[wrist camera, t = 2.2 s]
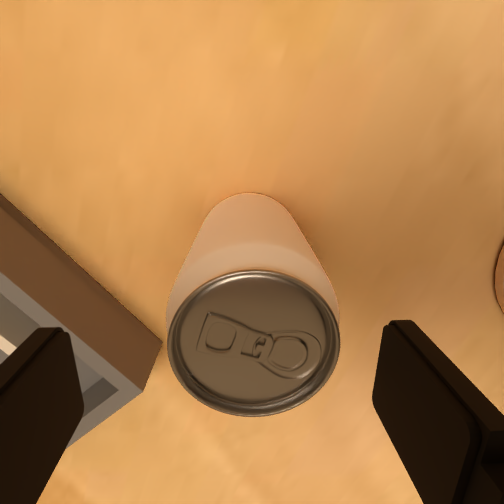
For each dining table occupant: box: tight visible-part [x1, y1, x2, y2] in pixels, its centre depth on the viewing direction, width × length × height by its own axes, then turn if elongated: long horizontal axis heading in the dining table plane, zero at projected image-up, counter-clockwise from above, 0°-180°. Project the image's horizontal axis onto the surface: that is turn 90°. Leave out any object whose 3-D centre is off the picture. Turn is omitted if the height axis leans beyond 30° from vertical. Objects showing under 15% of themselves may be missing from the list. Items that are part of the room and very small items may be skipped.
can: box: [166, 193, 340, 417], centre depth 16 cm, size 6×6×12 cm
